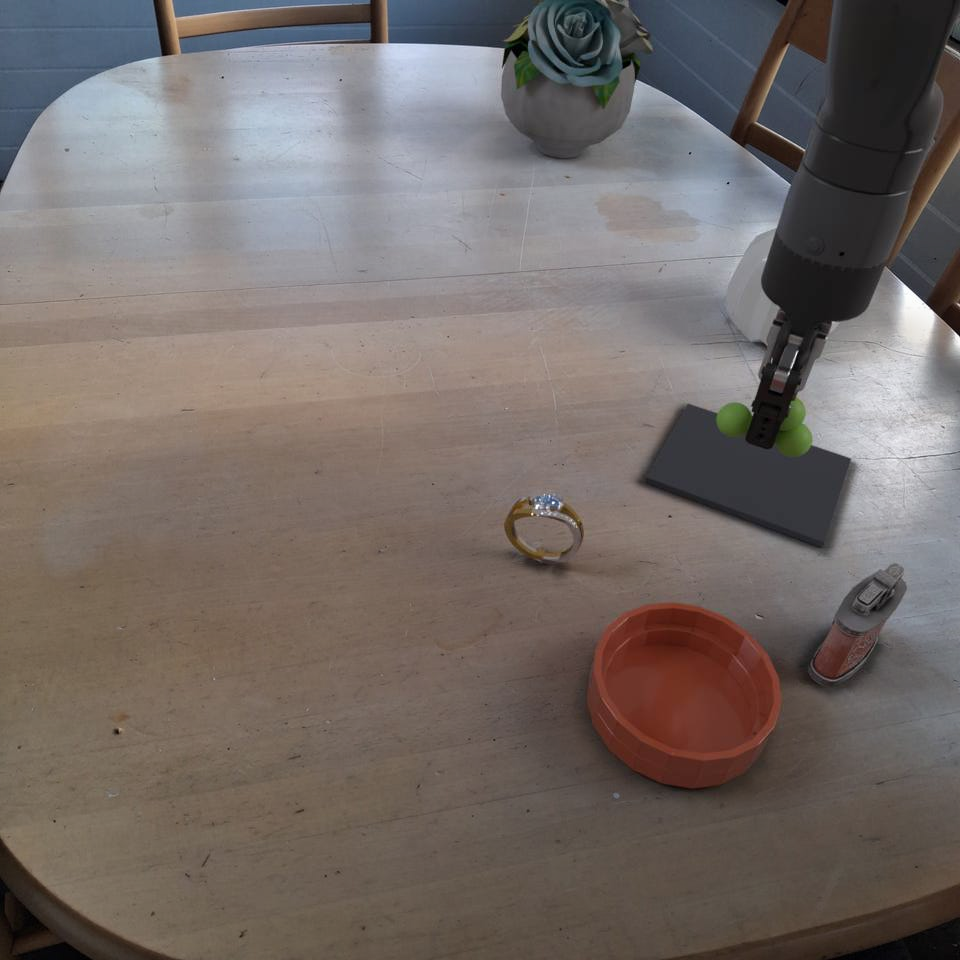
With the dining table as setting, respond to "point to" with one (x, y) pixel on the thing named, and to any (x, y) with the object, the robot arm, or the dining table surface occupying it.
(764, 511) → the slate board
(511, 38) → the flower arrangement
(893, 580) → the lighter
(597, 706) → the bowl
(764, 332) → the vase
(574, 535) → the ring
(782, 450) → the grapes
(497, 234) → the dining table surface
